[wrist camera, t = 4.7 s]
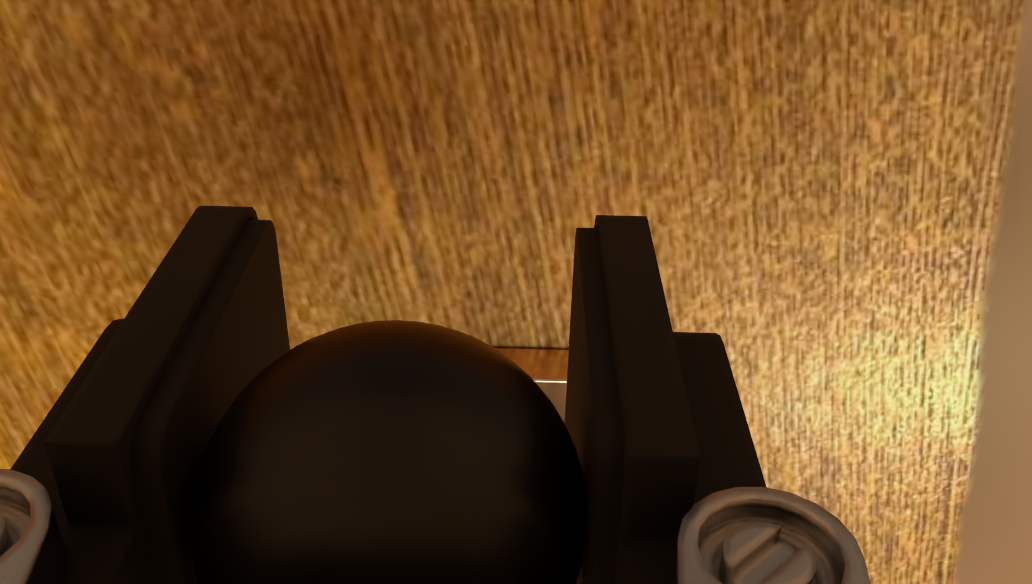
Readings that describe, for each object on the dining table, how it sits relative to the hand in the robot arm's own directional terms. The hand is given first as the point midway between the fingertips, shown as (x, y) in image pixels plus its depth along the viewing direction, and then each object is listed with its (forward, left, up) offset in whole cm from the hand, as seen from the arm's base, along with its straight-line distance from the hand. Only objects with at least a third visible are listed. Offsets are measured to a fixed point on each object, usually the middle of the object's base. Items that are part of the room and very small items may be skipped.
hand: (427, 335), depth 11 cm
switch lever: (+5, 0, +1) cm, 5 cm away
